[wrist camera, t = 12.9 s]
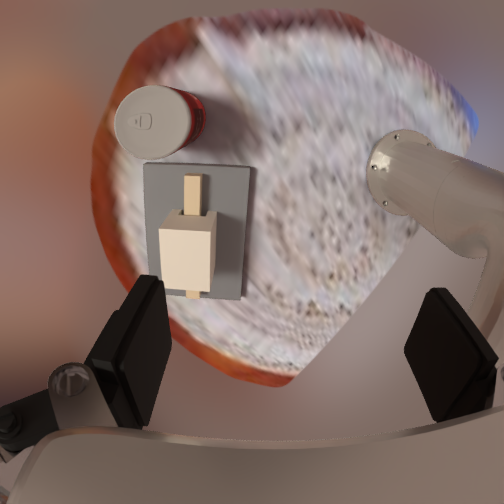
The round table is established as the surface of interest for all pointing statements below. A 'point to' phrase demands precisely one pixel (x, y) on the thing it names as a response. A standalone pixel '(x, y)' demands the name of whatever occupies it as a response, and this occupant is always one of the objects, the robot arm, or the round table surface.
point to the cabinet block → (188, 250)
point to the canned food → (158, 121)
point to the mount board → (214, 199)
